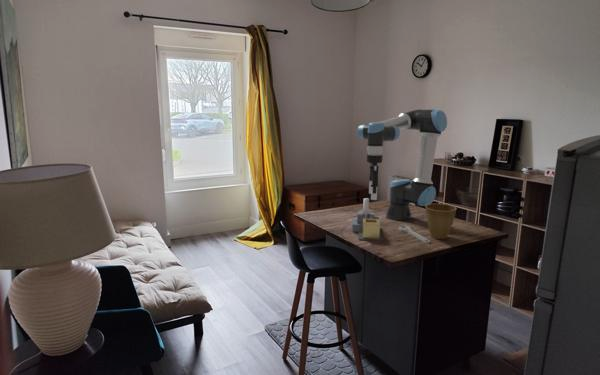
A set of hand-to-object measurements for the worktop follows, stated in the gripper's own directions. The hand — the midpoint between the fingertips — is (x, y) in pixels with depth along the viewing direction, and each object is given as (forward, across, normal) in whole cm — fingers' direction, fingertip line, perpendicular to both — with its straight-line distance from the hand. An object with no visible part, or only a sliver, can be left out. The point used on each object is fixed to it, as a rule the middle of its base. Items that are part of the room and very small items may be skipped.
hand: (372, 196), depth 194 cm
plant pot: (+22, -5, +35) cm, 41 cm away
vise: (+21, -13, -2) cm, 25 cm away
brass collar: (+21, 0, 0) cm, 21 cm away
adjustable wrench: (+22, -6, +22) cm, 32 cm away
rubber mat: (+21, 0, 0) cm, 21 cm away
